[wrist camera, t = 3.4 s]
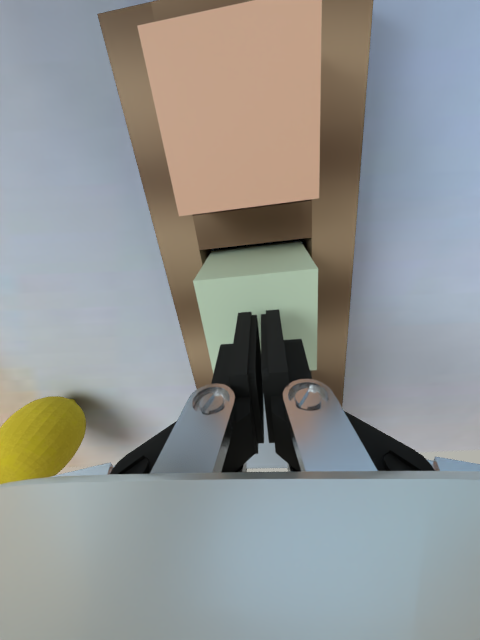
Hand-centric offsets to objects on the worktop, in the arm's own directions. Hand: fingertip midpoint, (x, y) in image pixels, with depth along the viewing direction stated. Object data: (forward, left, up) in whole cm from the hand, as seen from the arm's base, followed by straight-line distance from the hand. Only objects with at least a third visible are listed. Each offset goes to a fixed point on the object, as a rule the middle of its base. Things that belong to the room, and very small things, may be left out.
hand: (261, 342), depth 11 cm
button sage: (0, 0, -6) cm, 6 cm away
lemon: (+10, -18, -8) cm, 22 cm away
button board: (0, 0, -8) cm, 8 cm away
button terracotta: (-8, 0, -6) cm, 10 cm away
